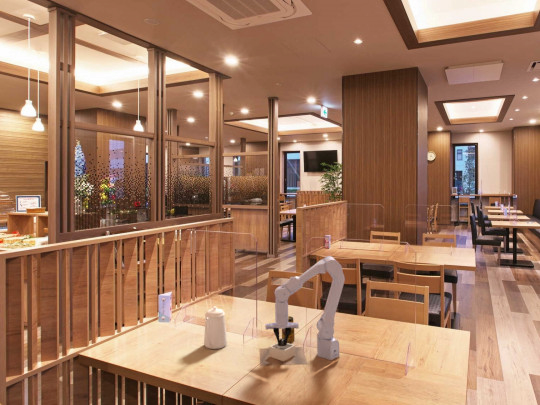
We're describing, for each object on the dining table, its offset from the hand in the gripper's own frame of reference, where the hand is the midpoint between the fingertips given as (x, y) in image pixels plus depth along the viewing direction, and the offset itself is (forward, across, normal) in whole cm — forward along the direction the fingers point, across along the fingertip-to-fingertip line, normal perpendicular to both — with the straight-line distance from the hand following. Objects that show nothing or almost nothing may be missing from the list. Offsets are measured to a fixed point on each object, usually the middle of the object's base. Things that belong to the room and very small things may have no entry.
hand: (282, 344), depth 182 cm
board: (+6, 0, 0) cm, 6 cm away
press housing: (+5, 0, 0) cm, 5 cm away
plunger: (+4, 0, 0) cm, 4 cm away
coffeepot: (+6, -31, +16) cm, 35 cm away
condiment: (+6, +4, +19) cm, 20 cm away
